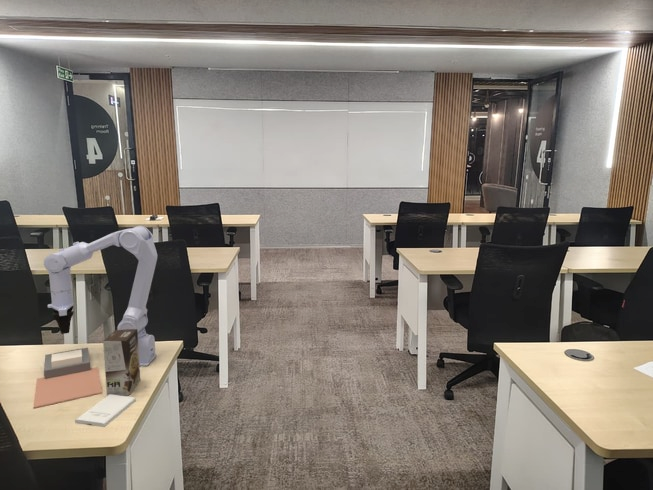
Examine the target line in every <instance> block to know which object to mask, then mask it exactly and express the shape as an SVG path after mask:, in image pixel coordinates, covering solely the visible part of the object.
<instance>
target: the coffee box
mask: <svg viewBox="0 0 653 490" xmlns="http://www.w3.org/2000/svg"><path fill="white" fill-rule="evenodd" d="M102 342H103V356H104V357H103V360H104V373H105V375H104V376H105V386H106V397H107V396H108V395H110V394H112V395H120V396H130V395H131V393H132V392H133V391H134V389H135V388H136V387H137V385H138V384H139V383H140V381H141V369H140V368H141V366H140V365H139V349H138V333H137V329H126V330H117V329H115V330H114V331H113V332H112V333H111V334H109V335H108V336H107V337H106V338H105V339H103V340H102Z"/></svg>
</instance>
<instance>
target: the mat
mask: <svg viewBox="0 0 653 490" xmlns="http://www.w3.org/2000/svg"><path fill="white" fill-rule="evenodd" d="M34 391H35V392H34V400H33V406H32V408H33V409H38V408H42V407H47V406H51V405H56V404H61V403H65V402H69V401H74V400H78V399H84V398H87V397H92V396H97V395H101V394H103V390H102V383H101V378H100V372H99V367H98V366H95V367H91V370H89V371H84V372H79V373H74V374H69V375H64V376H59V377H53V378H48V379H45V377H44V376H43V377H38V378H36V383H35V389H34Z"/></svg>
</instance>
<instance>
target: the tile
mask: <svg viewBox="0 0 653 490" xmlns="http://www.w3.org/2000/svg"><path fill="white" fill-rule="evenodd" d="M74 350H75V351H70V350H68V351H69V352H64V351H62V352H63V353H58V352H56V353H57V354H53V353H51V354H52V358H51V364H52V368H55V367H61V366H66V365H72V364H77V363H82V351H81V350H76V349H74Z"/></svg>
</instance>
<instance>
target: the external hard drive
mask: <svg viewBox="0 0 653 490" xmlns="http://www.w3.org/2000/svg"><path fill="white" fill-rule="evenodd" d="M135 402H136V397H133V396H128V395H112V394H110V395H108V396H107V395H106V397H104V398H103V399H101V400H100V401H99V402H97V403H95V404H94V405H93V406H92V407H90V408H89V409H88V410H86V412H84V413H82V414H81V415H80V416H78V417H76V419H74V421H75V424H82V425H90V426H96V427H104V428H105V427H106V426H107V425H109V424H110V423H111V422H113V420H114V419H116V418H118V416H120V415H121V414H122V413H123V412H124V411H125V410H127V409H128V408H129V407H130V406H132V405H133V404H134V403H135Z"/></svg>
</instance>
